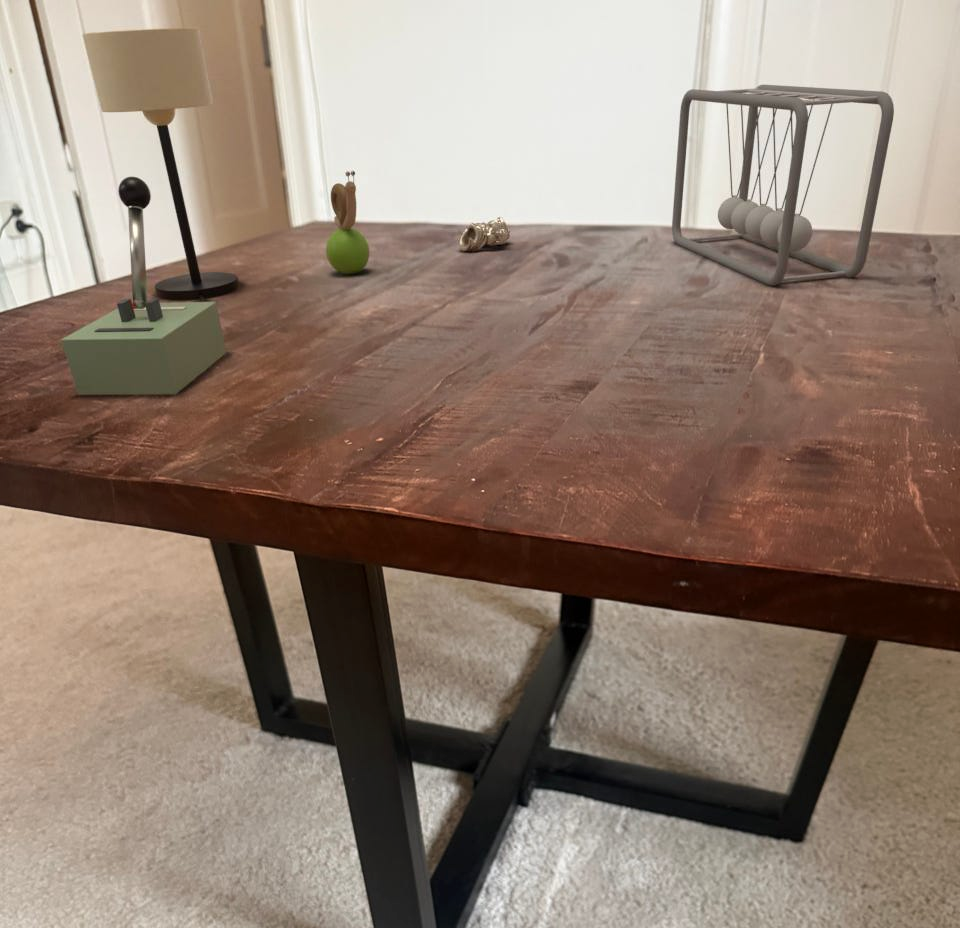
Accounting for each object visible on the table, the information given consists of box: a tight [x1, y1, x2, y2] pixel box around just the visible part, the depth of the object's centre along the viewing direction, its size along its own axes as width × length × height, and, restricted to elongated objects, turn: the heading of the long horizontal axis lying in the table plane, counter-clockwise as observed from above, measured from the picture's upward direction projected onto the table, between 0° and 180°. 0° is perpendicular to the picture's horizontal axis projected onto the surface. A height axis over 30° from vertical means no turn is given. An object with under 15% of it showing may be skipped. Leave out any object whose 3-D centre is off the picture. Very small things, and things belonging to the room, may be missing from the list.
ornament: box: [458, 216, 511, 252], centre depth 120 cm, size 8×7×4 cm
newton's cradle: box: [671, 84, 895, 287], centre depth 102 cm, size 30×10×18 cm, turn 12°
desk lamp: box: [82, 27, 240, 302], centre depth 97 cm, size 20×12×26 cm, turn 24°
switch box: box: [60, 297, 227, 396], centre depth 78 cm, size 12×9×7 cm
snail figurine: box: [325, 170, 370, 276], centre depth 108 cm, size 5×6×12 cm
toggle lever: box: [117, 176, 152, 309], centre depth 76 cm, size 3×3×11 cm
